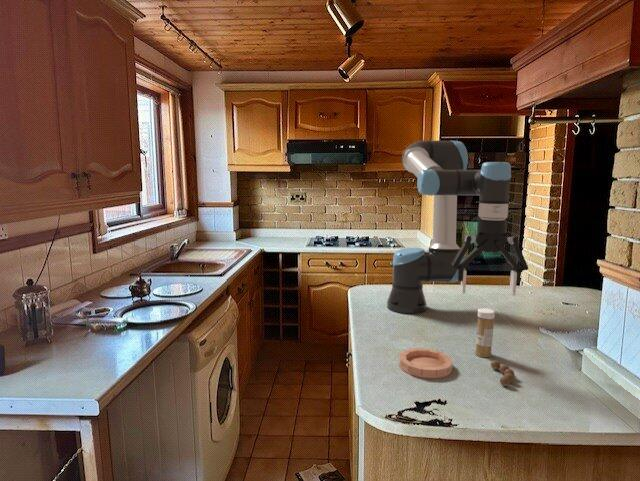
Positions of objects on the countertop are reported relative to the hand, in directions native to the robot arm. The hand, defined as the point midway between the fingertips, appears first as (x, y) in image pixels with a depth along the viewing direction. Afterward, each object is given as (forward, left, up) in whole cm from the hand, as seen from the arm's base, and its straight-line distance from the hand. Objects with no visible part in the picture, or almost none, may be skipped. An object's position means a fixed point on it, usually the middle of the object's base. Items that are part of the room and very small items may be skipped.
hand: (487, 293), depth 121 cm
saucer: (+10, -18, -18) cm, 28 cm away
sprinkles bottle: (0, 0, -19) cm, 19 cm away
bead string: (+14, +1, -18) cm, 23 cm away
